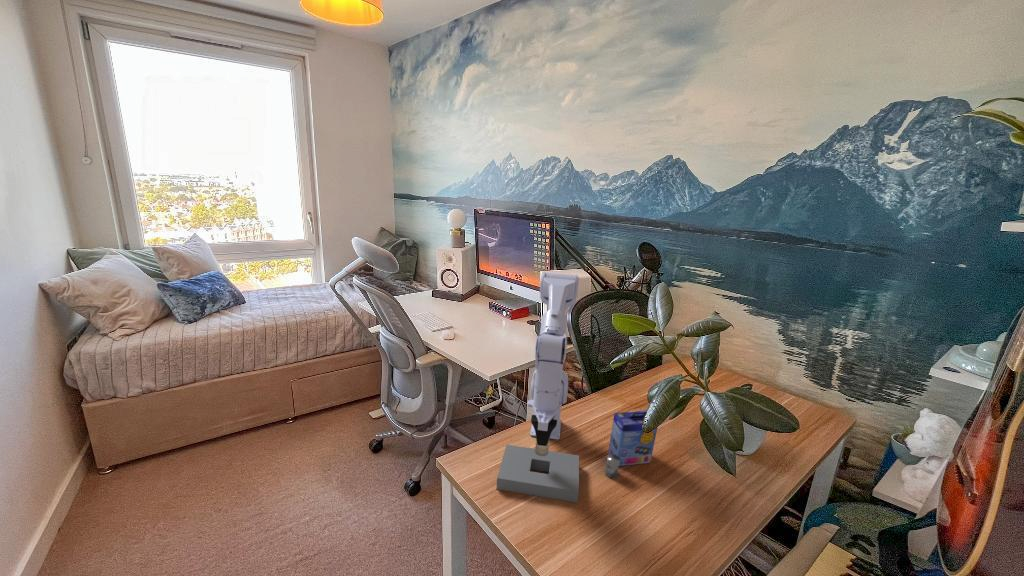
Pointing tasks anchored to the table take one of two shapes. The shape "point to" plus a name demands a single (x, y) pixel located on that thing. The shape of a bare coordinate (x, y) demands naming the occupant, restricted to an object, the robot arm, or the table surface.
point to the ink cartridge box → (631, 438)
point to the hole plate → (553, 485)
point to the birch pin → (541, 449)
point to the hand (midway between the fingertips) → (542, 439)
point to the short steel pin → (612, 466)
